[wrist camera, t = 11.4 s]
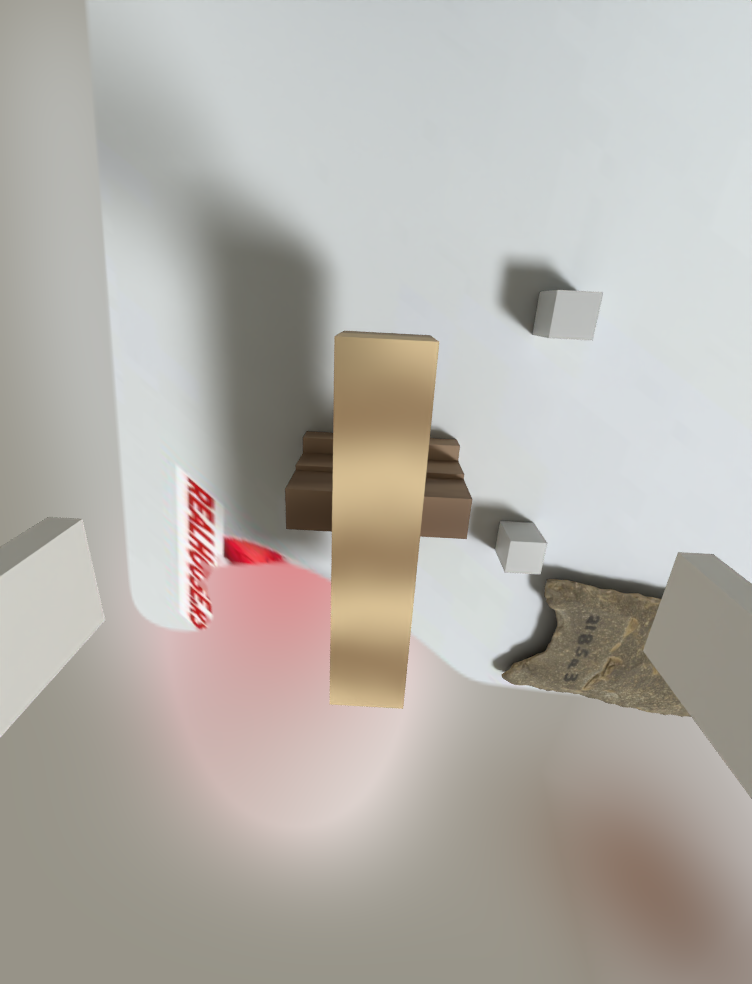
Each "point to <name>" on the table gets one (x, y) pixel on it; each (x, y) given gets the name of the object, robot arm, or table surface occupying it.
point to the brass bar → (377, 508)
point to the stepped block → (442, 492)
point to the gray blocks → (562, 320)
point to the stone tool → (599, 649)
